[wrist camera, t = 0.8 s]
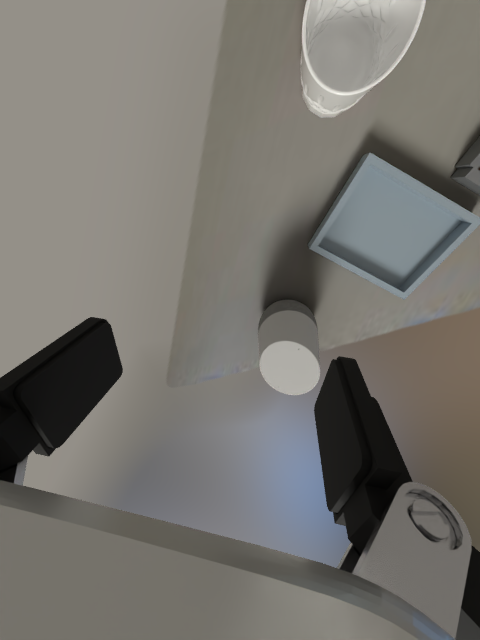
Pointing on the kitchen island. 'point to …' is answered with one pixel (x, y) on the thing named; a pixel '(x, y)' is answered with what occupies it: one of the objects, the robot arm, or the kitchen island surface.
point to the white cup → (352, 48)
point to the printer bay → (469, 169)
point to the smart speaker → (289, 347)
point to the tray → (391, 227)
